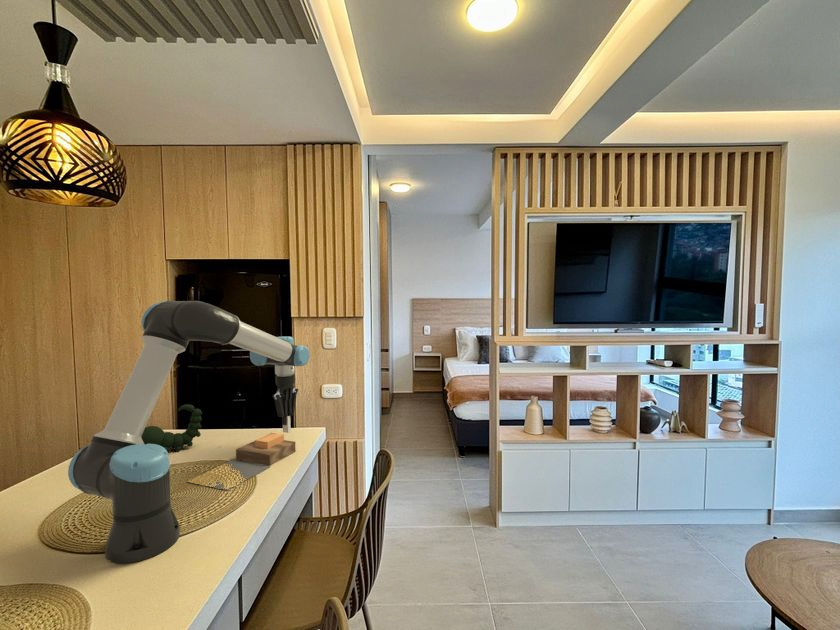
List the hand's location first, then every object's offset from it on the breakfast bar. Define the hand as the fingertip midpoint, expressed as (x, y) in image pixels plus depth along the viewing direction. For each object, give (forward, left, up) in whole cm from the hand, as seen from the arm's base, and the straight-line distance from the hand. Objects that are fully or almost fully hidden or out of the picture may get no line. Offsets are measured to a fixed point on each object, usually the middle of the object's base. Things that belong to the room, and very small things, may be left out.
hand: (286, 431), depth 166 cm
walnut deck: (-12, 0, -6) cm, 13 cm away
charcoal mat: (-29, 0, -6) cm, 30 cm away
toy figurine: (-22, +41, -6) cm, 47 cm away
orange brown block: (-10, 0, -2) cm, 10 cm away
